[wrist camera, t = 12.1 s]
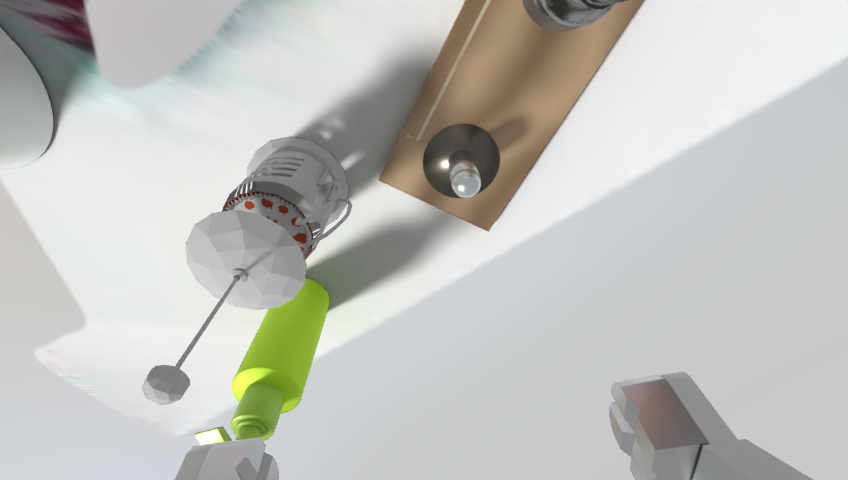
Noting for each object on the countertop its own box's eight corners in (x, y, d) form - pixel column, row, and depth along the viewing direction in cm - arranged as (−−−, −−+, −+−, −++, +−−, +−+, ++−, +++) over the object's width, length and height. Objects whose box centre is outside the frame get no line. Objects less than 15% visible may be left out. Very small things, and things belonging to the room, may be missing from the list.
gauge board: (379, 175, 40) (378, 180, 39) (535, -144, 29) (539, -149, 28) (486, 225, 43) (488, 231, 42) (667, -47, 31) (676, -49, 30)
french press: (225, 159, 39) (-18, 354, 17) (336, 113, 37) (217, 268, 15) (280, 243, 44) (141, 481, 22) (381, 206, 42) (339, 428, 20)
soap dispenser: (310, 263, 45) (240, 427, 28) (338, 310, 48) (292, 484, 31) (262, 278, 46) (166, 447, 29) (293, 324, 49) (223, 500, 32)
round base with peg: (409, 178, 39) (408, 206, 34) (445, 109, 36) (450, 128, 30) (474, 208, 41) (482, 240, 35) (514, 145, 38) (529, 170, 32)
